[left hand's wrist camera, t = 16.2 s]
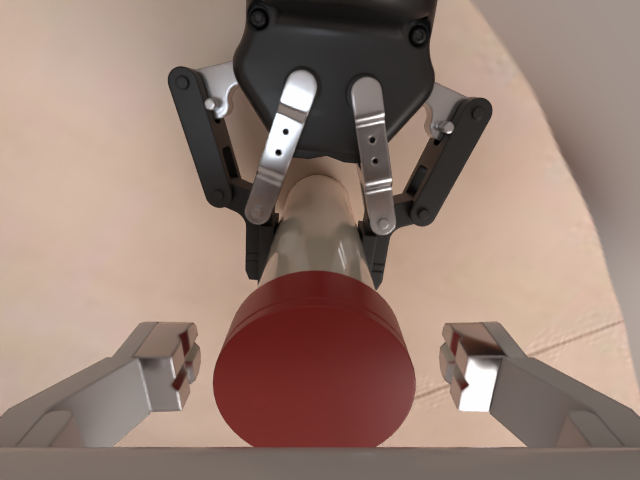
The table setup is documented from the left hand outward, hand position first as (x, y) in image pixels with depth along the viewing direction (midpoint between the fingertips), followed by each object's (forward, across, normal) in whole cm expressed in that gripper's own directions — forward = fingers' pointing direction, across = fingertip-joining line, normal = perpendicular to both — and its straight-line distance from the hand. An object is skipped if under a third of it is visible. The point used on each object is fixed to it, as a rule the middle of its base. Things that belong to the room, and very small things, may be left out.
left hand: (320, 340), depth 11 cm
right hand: (+8, 0, -3) cm, 9 cm away
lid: (-2, 0, 0) cm, 2 cm away
